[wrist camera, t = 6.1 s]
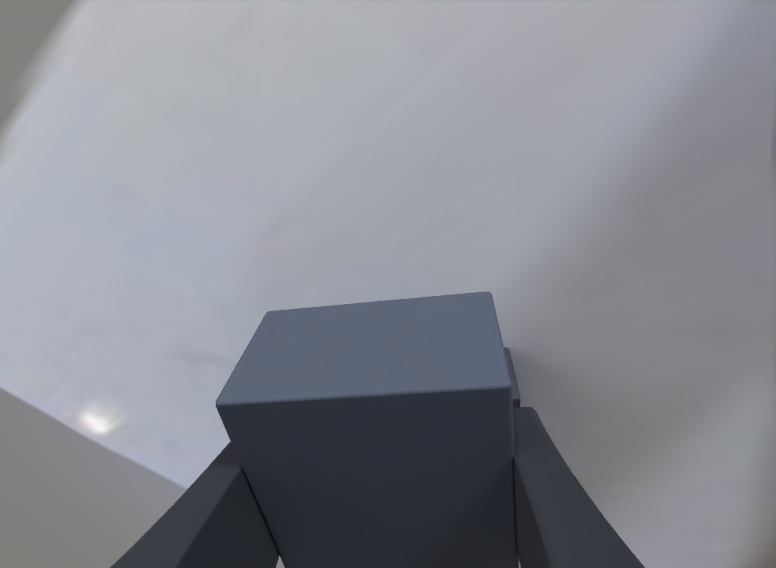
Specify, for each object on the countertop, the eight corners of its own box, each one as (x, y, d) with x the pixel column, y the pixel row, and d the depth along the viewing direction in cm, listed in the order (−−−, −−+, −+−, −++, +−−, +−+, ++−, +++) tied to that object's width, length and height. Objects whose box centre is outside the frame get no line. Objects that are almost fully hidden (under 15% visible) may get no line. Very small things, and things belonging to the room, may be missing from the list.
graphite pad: (490, 289, 10) (512, 385, 7) (504, 519, 13) (521, 639, 11) (265, 310, 11) (212, 403, 8) (334, 523, 14) (313, 636, 12)
